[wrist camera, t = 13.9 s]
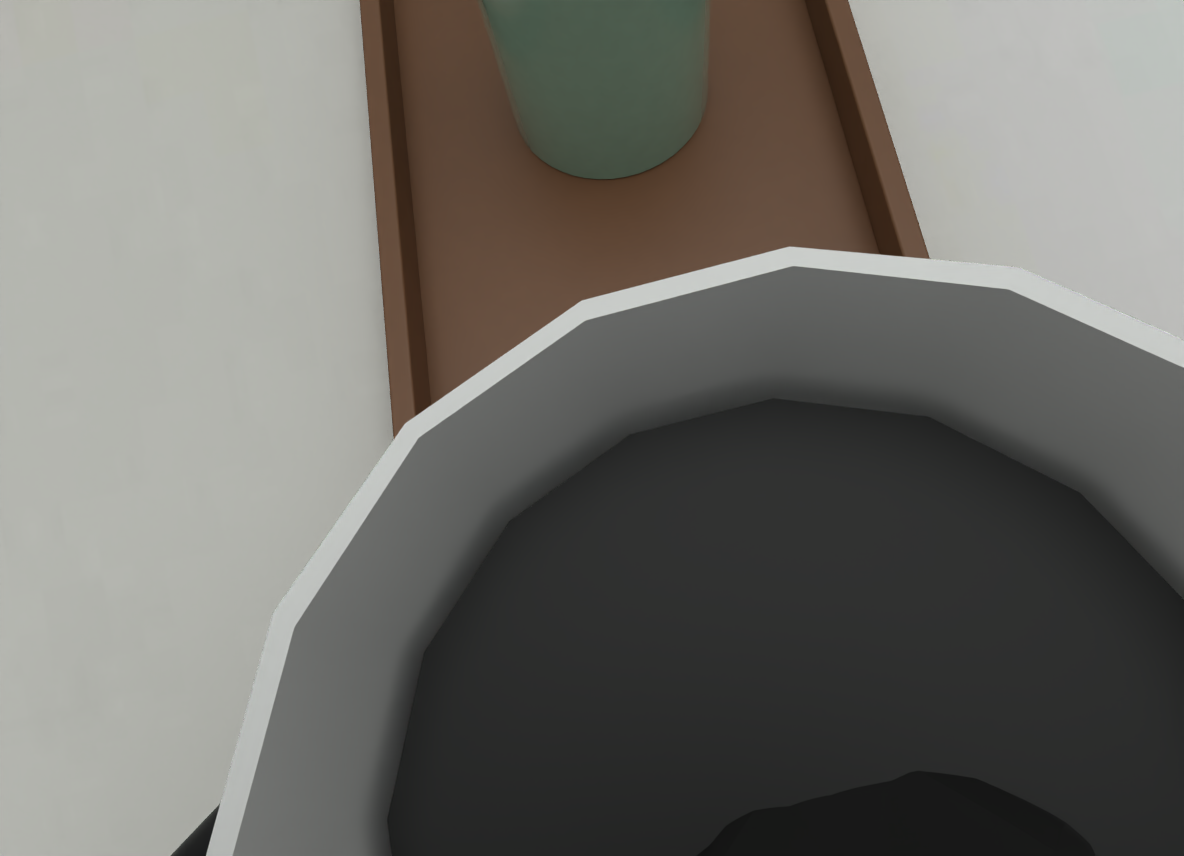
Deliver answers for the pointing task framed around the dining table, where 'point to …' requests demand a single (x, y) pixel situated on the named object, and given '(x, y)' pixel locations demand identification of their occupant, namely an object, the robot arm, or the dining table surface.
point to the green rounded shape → (602, 78)
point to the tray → (606, 181)
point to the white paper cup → (752, 586)
